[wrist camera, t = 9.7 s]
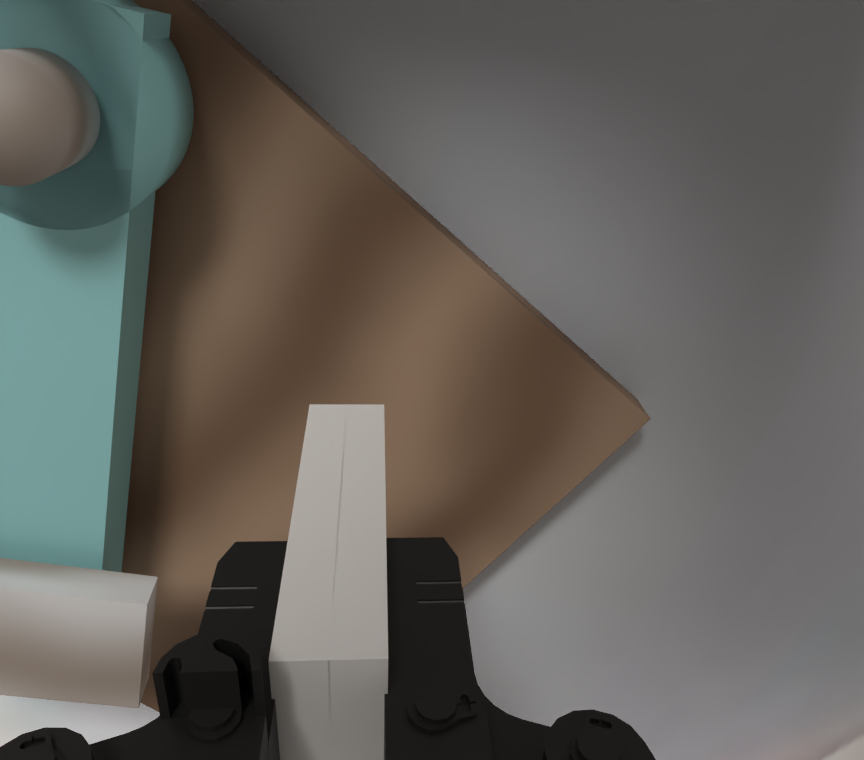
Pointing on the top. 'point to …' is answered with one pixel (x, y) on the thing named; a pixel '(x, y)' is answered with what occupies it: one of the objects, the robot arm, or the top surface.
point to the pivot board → (286, 364)
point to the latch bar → (83, 283)
